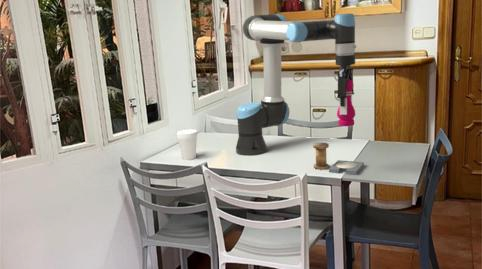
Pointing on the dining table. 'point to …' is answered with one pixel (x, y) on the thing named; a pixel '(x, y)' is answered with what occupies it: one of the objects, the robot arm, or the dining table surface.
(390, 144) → the dining table surface
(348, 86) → the pepper mill
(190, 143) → the foam cup
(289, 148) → the dining table surface
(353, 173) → the notched board
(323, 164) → the bobbin
